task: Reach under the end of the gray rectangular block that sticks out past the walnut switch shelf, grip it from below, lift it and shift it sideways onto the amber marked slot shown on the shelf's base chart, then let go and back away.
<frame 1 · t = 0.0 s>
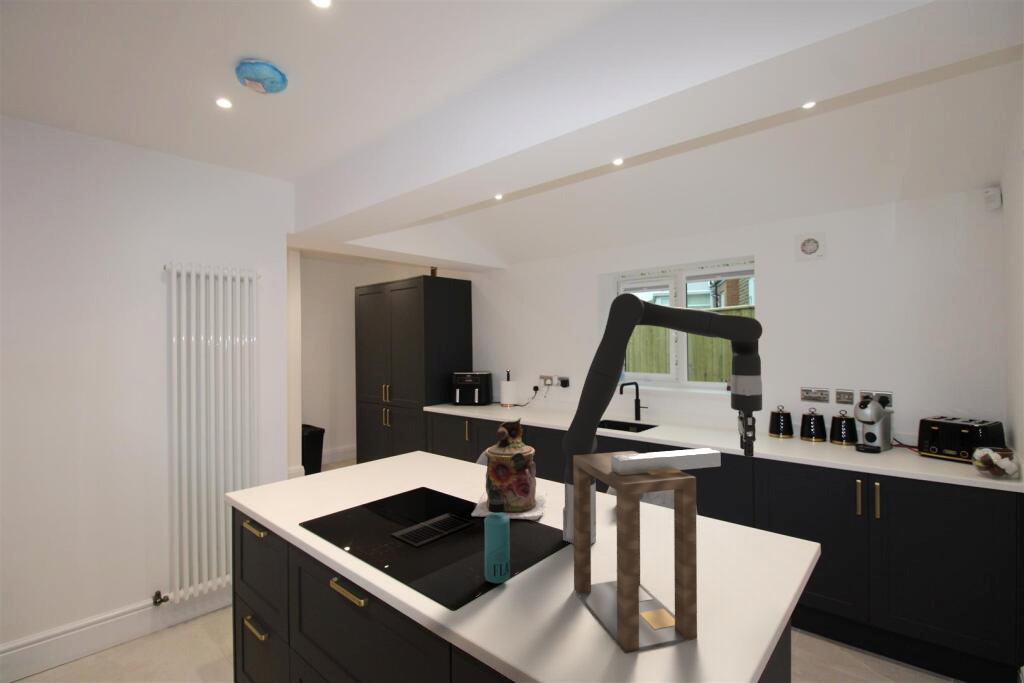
hand: (746, 452, 126), 29 cm above the worktop, tool pointing down, fingers open, 8 cm apart
switch shelf: (630, 611, 103), on the worktop
beverage bottle: (497, 583, 116), on the worktop
gray rectangular block: (666, 468, 100), point 32 cm above the worktop, touching switch shelf
cookie jar: (511, 508, 169), on the worktop
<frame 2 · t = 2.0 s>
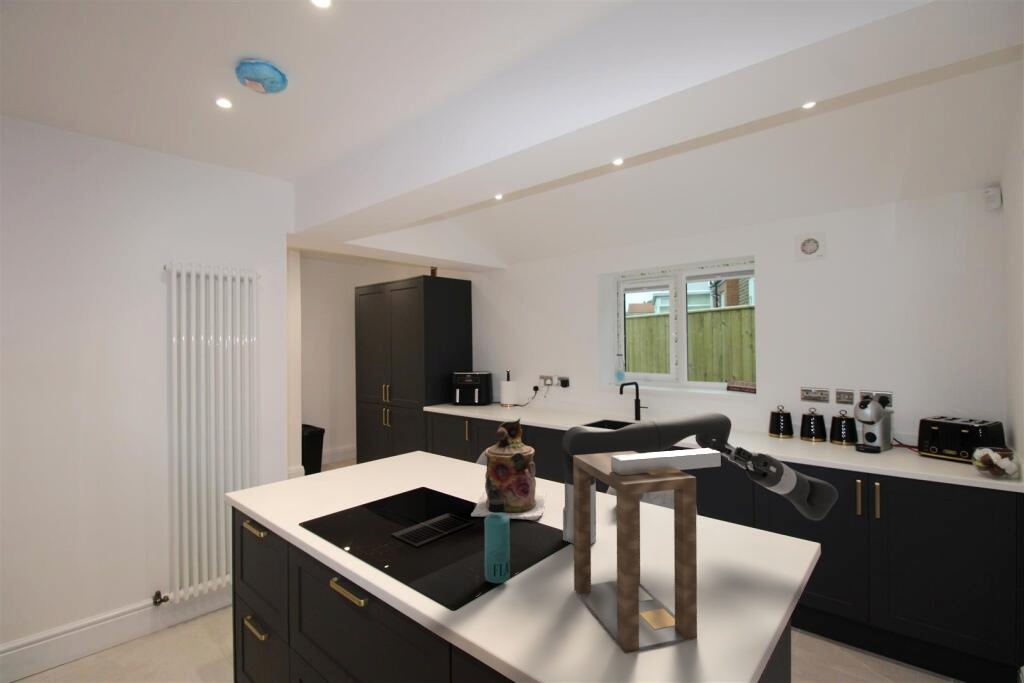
hand: (723, 446, 116), 33 cm above the worktop, tool pointing upward, fingers open, 8 cm apart
nothing on the worktop moved.
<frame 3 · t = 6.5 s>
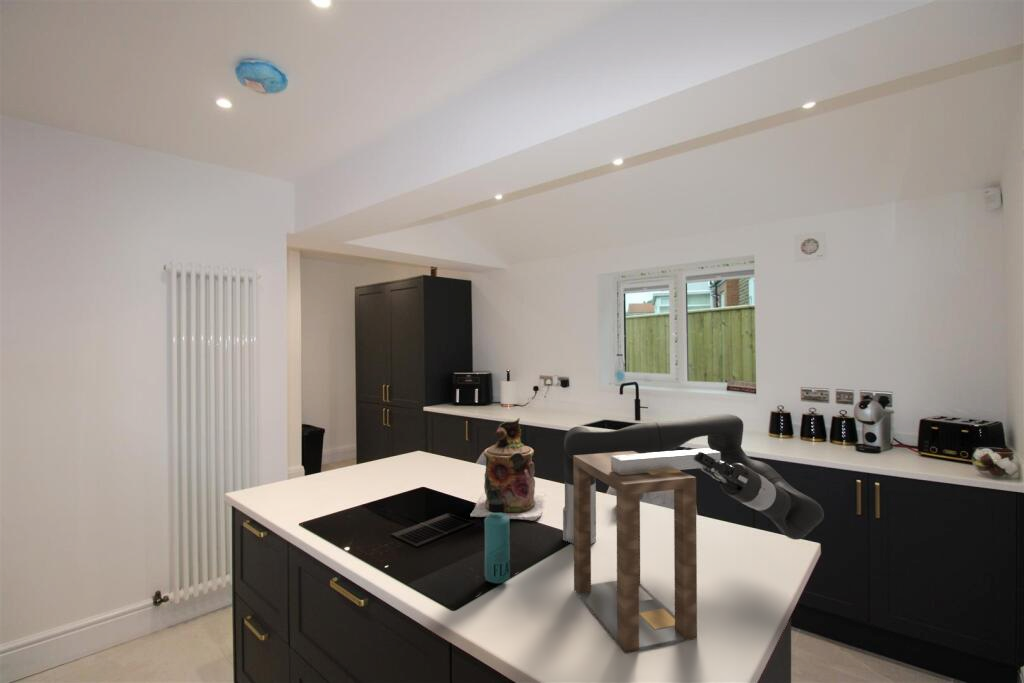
hand: (691, 453, 102), 35 cm above the worktop, tool pointing upward, fingers closed on gray rectangular block, 4 cm apart
gray rectangular block: (666, 468, 100), point 32 cm above the worktop, touching gripper, switch shelf
everything else where it was.
when the fingers open (36 cm above the worktop, at t = 11.0 s): gray rectangular block drops 1 cm, resting on switch shelf.
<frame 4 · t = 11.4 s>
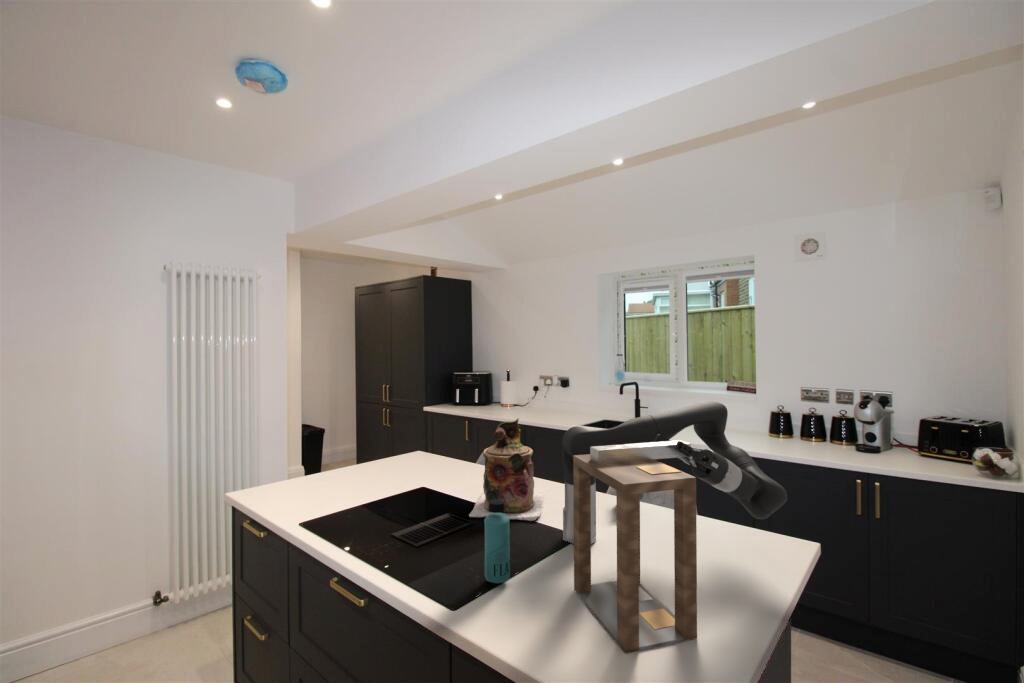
hand: (666, 441, 112), 35 cm above the worktop, tool pointing upward, fingers open, 8 cm apart
gray rectangular block: (641, 458, 110), point 32 cm above the worktop, touching switch shelf
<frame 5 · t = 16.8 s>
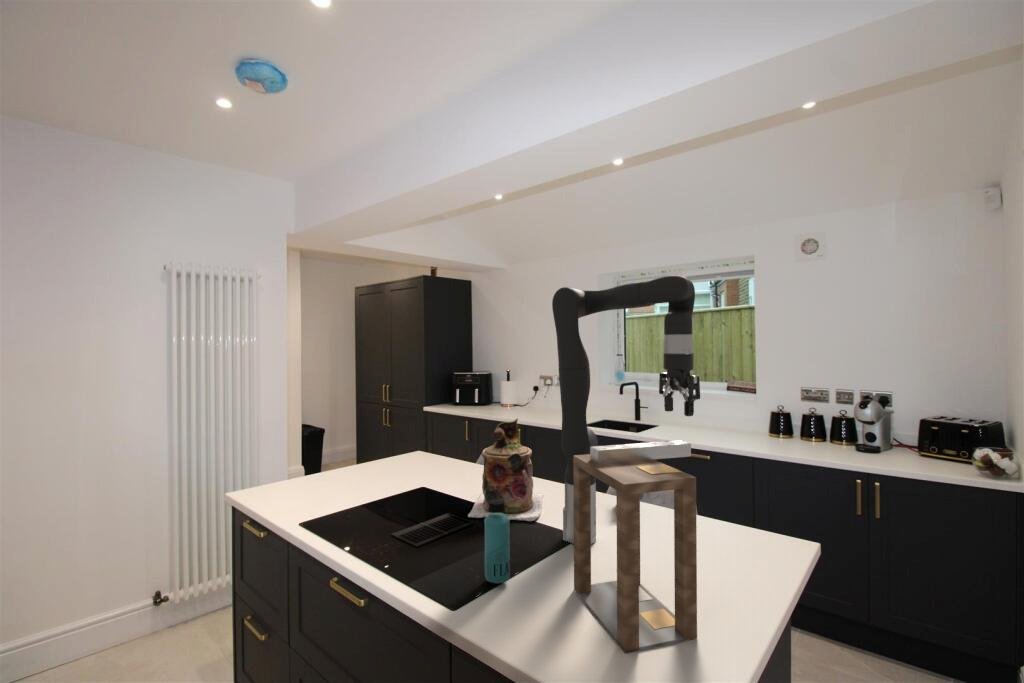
hand: (678, 413, 124), 40 cm above the worktop, tool pointing down, fingers open, 8 cm apart
at the end: gray rectangular block inside the target area on the switch shelf (0.2 cm from its centre), point 32.0 cm above the switch shelf's base; the gripper is holding nothing; gray rectangular block tilted 0° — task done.
